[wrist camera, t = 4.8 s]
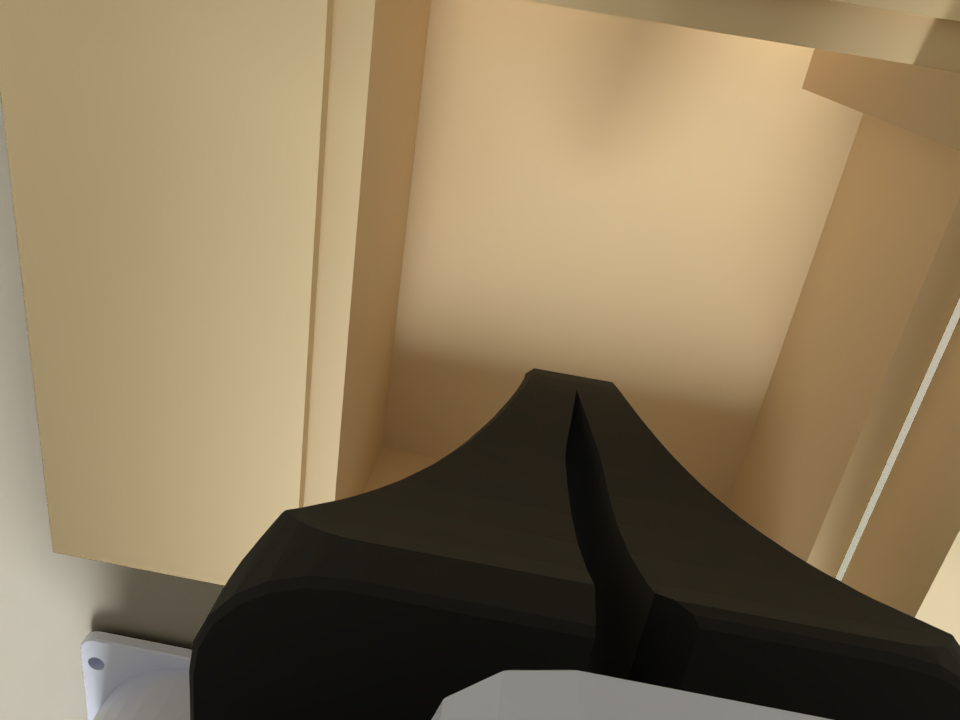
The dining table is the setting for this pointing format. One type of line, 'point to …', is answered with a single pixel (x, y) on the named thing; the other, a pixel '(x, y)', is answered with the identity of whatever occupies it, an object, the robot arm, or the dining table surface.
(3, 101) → the carton
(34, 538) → the dining table surface
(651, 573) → the robot arm
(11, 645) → the dining table surface
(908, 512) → the flap
